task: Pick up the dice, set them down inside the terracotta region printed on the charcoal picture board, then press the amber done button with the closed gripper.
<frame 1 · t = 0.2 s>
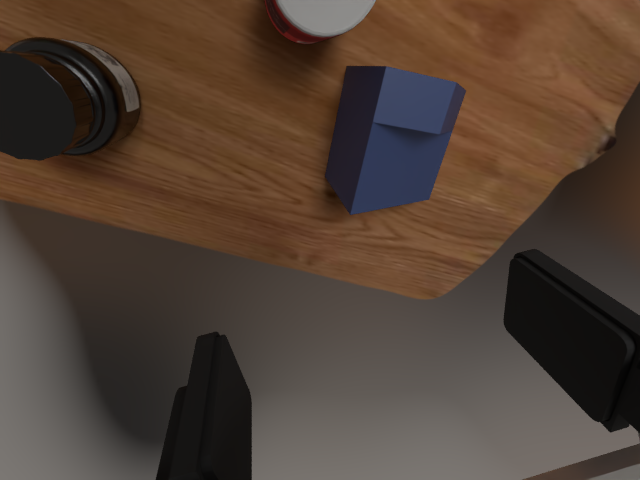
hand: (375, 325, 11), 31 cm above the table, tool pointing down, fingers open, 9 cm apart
ink bottle: (92, 94, 33), on the table
phone stand: (383, 133, 40), on the table
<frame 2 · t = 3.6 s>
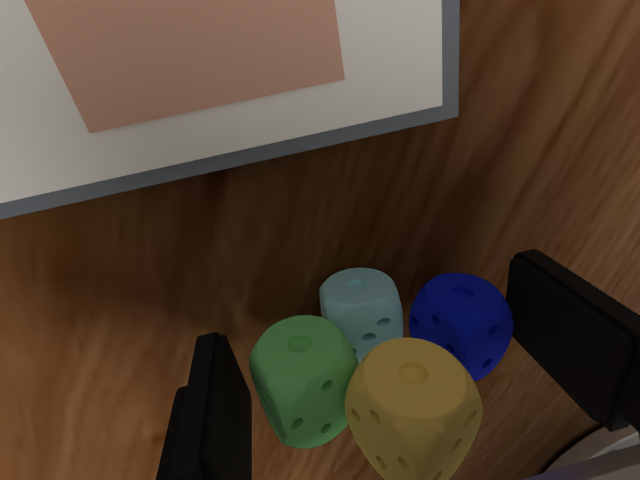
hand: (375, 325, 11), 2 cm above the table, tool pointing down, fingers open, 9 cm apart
dice: (358, 293, 13), on the table
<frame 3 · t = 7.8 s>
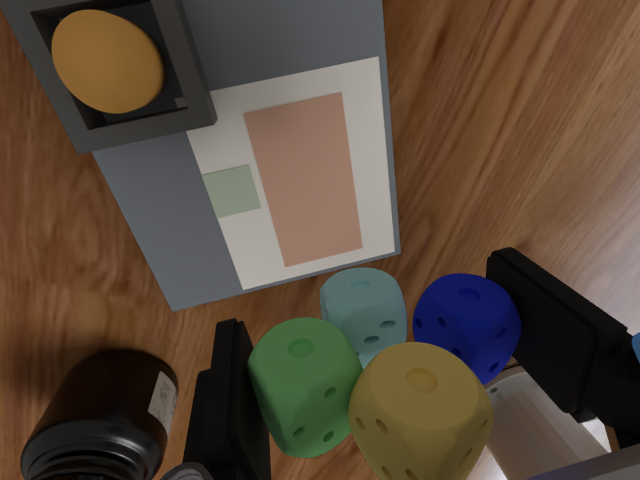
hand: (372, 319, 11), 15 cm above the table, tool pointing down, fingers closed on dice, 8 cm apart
ink bottle: (125, 384, 29), on the table
dice: (359, 293, 12), point 13 cm above the table, touching gripper
done button: (114, 64, 16), point 4 cm above the table, slide at 0.0 cm
colouring board: (254, 151, 22), on the table
when the fingers open (3 cm above the table, at t = 11.2 s): dice stays where it is, resting on colouring board.
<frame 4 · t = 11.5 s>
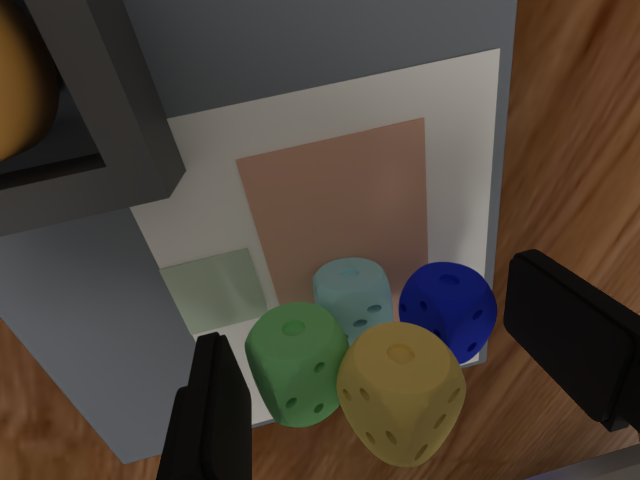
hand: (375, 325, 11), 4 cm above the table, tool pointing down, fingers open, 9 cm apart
dice: (350, 282, 13), point 1 cm above the table, touching colouring board
colouring board: (257, 218, 12), on the table
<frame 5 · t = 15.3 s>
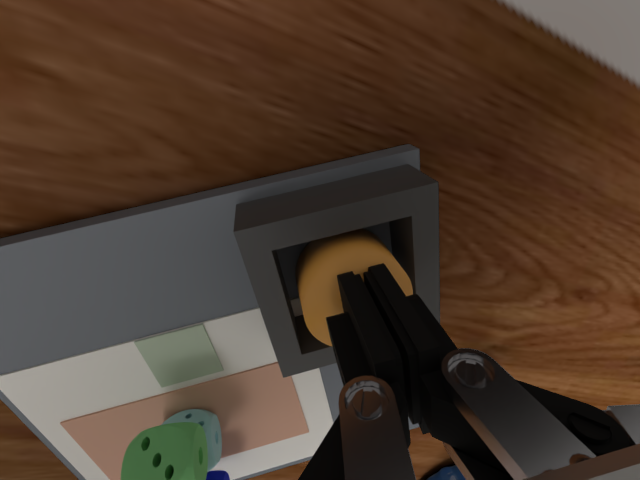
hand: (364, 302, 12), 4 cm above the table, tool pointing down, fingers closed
dice: (194, 424, 18), point 1 cm above the table, touching colouring board
done button: (350, 286, 13), point 3 cm above the table, slide at 0.4 cm, touching gripper
colouring board: (237, 356, 18), on the table
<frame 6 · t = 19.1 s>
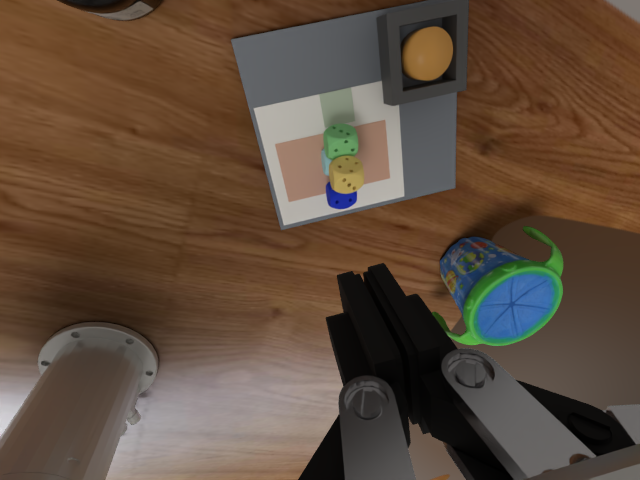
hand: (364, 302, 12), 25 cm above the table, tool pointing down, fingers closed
dice: (333, 160, 34), point 1 cm above the table, touching colouring board
snack cup: (463, 259, 45), on the table
done button: (424, 54, 30), point 3 cm above the table, slide at 1.0 cm
colouring board: (357, 123, 34), on the table
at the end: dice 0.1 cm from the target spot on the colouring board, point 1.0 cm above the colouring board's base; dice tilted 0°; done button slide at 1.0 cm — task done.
